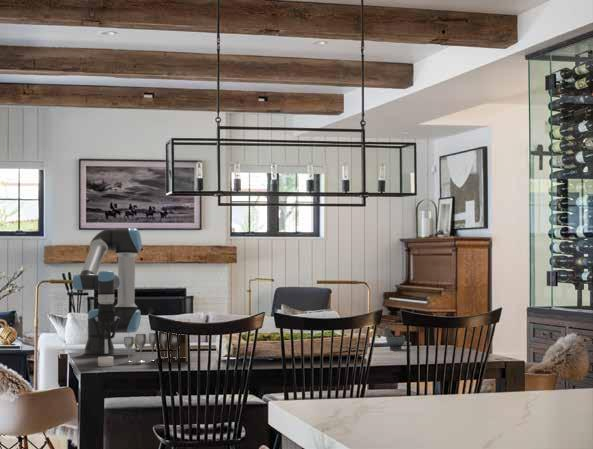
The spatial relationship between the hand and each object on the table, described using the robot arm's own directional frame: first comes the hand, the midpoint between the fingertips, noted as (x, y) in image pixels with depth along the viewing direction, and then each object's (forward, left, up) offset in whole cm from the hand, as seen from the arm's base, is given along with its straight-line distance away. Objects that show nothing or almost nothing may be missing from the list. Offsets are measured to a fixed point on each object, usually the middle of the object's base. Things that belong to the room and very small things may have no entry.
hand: (106, 353), depth 453 cm
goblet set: (-1, +22, -5) cm, 22 cm away
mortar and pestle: (-34, +145, -5) cm, 149 cm away
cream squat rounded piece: (+13, +1, -4) cm, 14 cm away
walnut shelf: (0, +31, -4) cm, 31 cm away
